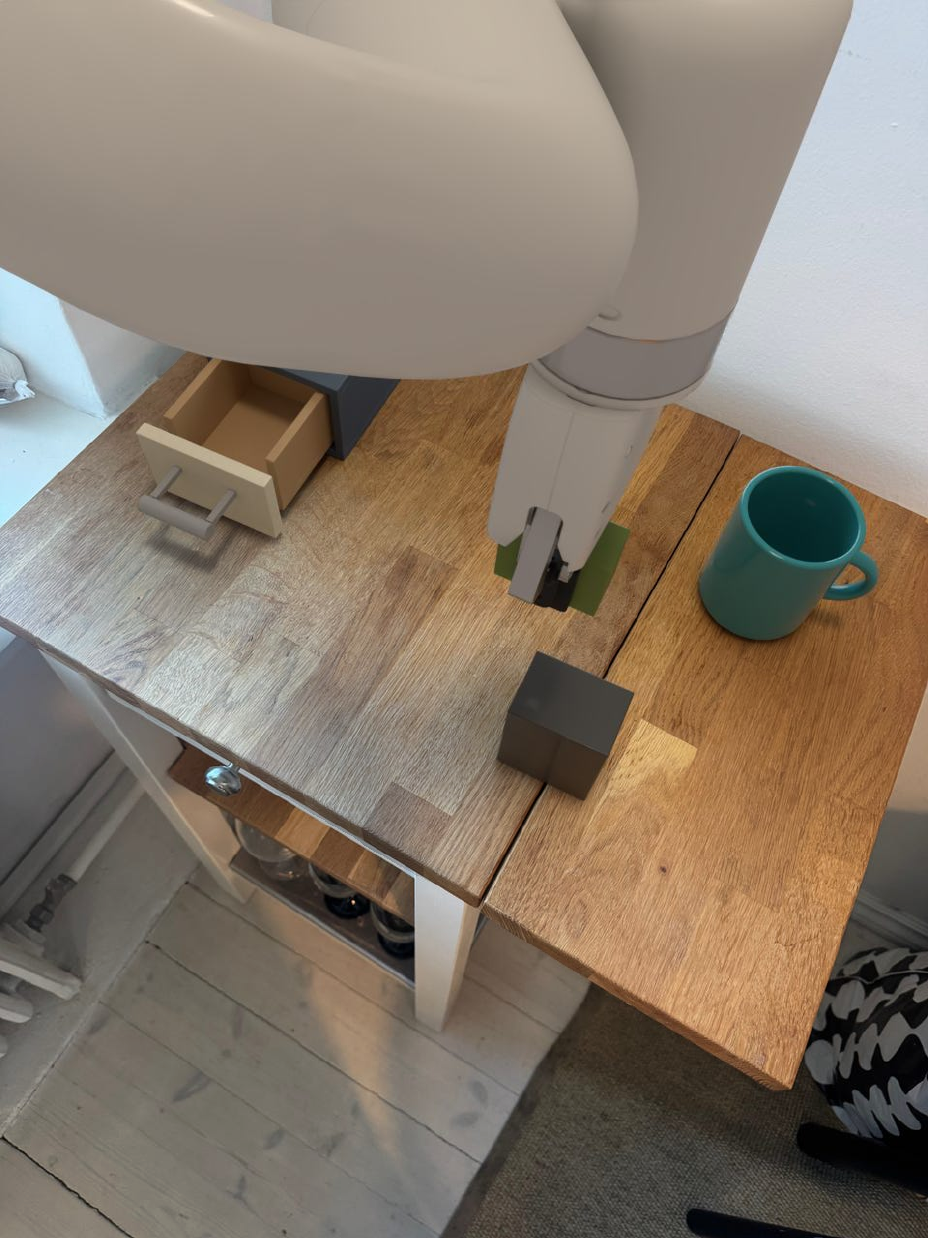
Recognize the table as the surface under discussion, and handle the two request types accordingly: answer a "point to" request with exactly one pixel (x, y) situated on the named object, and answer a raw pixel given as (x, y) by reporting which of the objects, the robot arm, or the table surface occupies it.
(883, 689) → the table surface
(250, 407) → the drawer
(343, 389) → the cabinet
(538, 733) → the dark gray block
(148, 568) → the table surface
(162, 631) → the table surface
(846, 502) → the cup
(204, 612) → the table surface
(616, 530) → the olive green block
